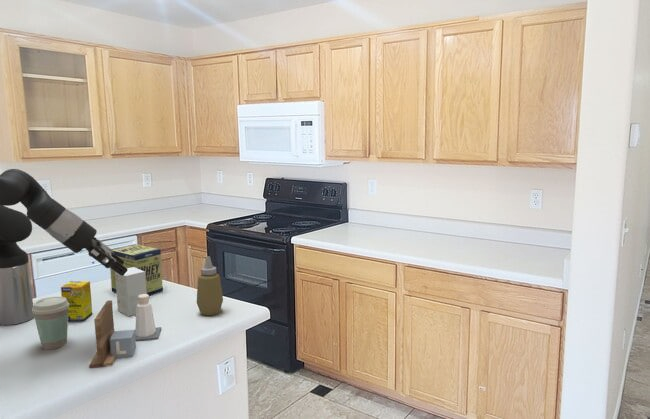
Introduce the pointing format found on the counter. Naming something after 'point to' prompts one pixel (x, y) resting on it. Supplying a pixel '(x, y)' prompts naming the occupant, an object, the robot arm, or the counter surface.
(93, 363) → the screen
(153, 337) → the pad
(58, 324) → the coffee cup
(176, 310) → the counter surface
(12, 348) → the counter surface
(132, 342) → the gray cube
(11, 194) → the robot arm
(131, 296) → the small box
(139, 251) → the protein box
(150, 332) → the pepper shaker
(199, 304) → the squeeze bottle
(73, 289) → the supplement box
